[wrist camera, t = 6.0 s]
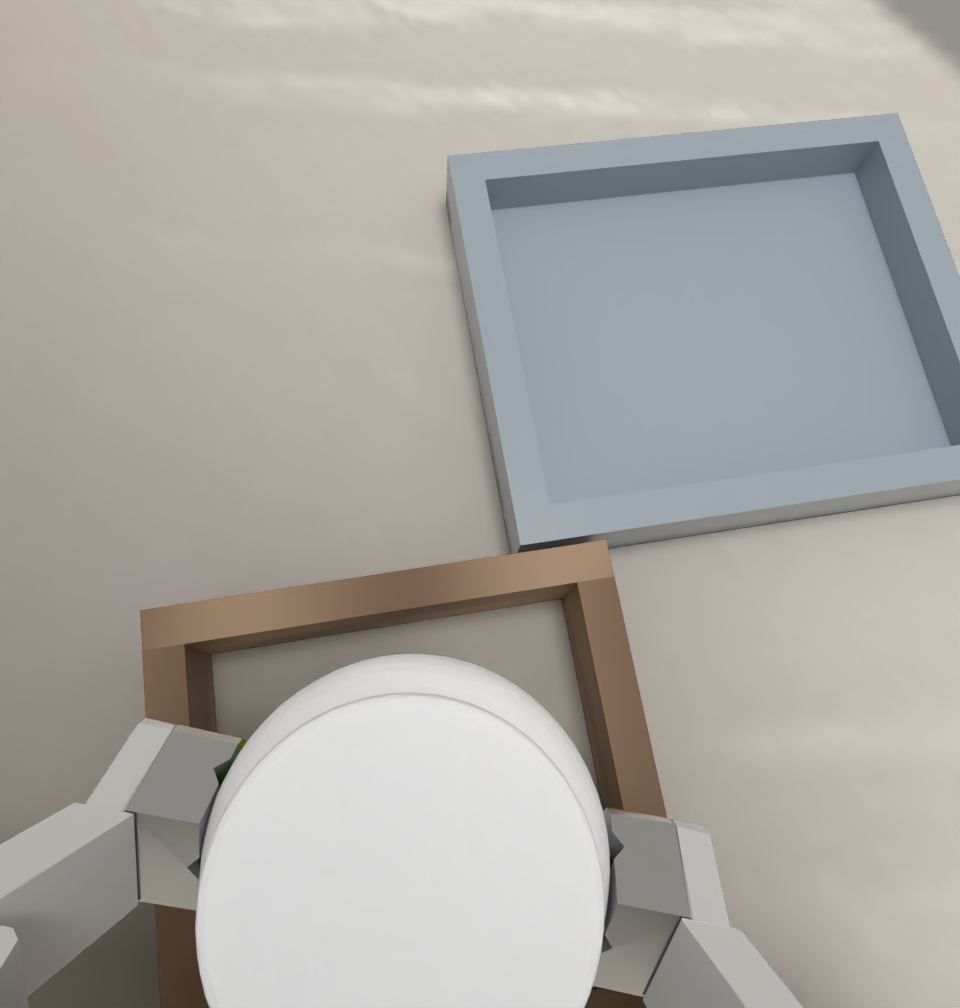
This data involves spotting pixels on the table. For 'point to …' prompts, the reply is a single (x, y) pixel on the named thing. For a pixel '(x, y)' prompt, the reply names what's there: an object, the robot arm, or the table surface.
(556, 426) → the slate tray
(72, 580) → the table surface
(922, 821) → the table surface
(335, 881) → the supplement bottle
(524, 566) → the walnut holder
